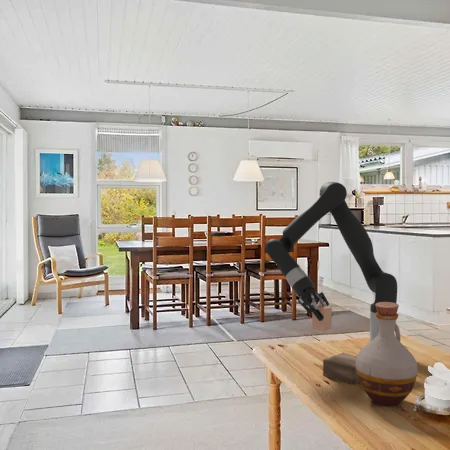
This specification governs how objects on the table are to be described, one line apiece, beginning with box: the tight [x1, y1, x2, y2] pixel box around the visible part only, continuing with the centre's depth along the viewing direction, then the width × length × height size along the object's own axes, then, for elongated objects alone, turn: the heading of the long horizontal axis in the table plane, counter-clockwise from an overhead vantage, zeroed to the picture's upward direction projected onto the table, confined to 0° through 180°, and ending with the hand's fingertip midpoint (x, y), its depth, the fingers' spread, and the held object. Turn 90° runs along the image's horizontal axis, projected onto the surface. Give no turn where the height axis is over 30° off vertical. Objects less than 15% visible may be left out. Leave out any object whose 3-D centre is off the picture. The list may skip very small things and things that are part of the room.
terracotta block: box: [311, 304, 333, 332], centre depth 176 cm, size 5×5×8 cm
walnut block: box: [322, 352, 360, 386], centre depth 169 cm, size 12×12×6 cm
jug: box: [356, 302, 418, 408], centre depth 147 cm, size 20×18×30 cm
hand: (326, 318), depth 175 cm, fingers closed on terracotta block, 5 cm apart
